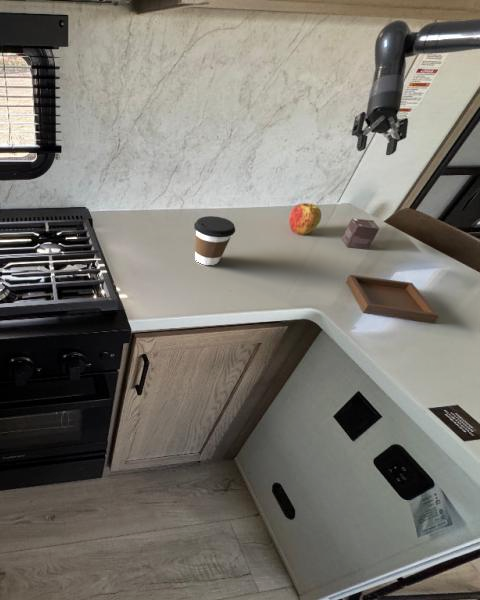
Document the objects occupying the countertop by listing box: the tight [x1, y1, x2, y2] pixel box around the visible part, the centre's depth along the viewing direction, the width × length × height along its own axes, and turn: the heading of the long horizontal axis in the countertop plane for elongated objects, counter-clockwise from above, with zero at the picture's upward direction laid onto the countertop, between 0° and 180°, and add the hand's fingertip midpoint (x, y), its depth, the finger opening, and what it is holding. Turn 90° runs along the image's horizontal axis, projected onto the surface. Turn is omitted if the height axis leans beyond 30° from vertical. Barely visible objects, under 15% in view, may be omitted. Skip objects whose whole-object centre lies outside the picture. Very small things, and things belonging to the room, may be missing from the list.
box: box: [341, 218, 380, 250], centre depth 108 cm, size 6×6×7 cm
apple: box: [288, 202, 322, 236], centre depth 114 cm, size 9×9×10 cm
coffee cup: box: [193, 215, 236, 266], centre depth 99 cm, size 11×11×12 cm
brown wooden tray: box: [345, 274, 440, 324], centre depth 85 cm, size 14×14×2 cm
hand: (375, 152), depth 102 cm, fingers open, 8 cm apart
